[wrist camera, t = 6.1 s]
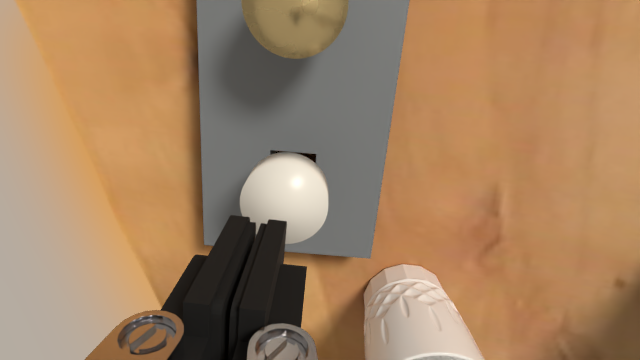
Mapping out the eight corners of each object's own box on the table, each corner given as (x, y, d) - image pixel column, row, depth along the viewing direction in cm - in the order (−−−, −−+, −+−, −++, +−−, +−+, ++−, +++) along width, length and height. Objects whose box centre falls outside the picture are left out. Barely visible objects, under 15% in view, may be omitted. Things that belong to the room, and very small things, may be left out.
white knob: (331, 141, 24) (332, 167, 20) (325, 209, 26) (324, 247, 21) (256, 135, 24) (240, 159, 20) (255, 203, 26) (239, 240, 21)
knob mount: (448, -330, 19) (468, -393, 16) (366, 237, 30) (370, 258, 28) (205, -354, 19) (183, -422, 16) (215, 225, 30) (204, 244, 27)
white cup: (425, 343, 34) (462, 460, 25) (342, 318, 33) (348, 429, 24) (466, 274, 31) (525, 375, 22) (378, 244, 31) (400, 337, 21)
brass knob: (348, -35, 21) (354, -55, 16) (339, 57, 23) (342, 63, 18) (261, -43, 21) (241, -65, 16) (258, 50, 23) (240, 54, 18)
